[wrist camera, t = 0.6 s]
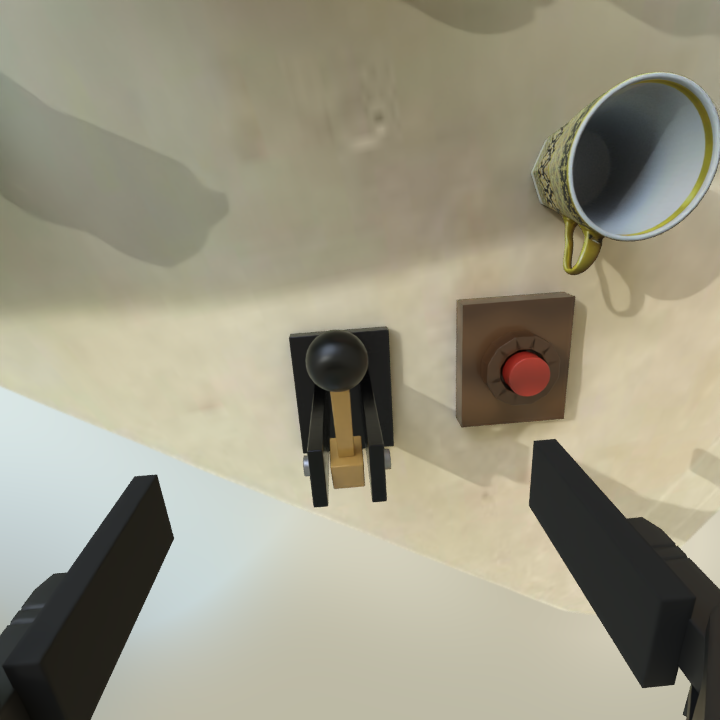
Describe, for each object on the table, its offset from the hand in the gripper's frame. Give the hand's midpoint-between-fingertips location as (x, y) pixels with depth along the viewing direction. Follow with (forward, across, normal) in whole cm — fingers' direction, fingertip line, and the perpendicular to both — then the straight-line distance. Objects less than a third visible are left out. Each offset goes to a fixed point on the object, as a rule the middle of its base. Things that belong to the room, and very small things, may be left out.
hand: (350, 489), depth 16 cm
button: (+23, +16, -6) cm, 29 cm away
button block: (+27, +16, -6) cm, 32 cm away
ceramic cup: (+27, +20, +9) cm, 35 cm away
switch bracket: (+27, 0, -8) cm, 28 cm away
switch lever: (+13, 0, -3) cm, 14 cm away
